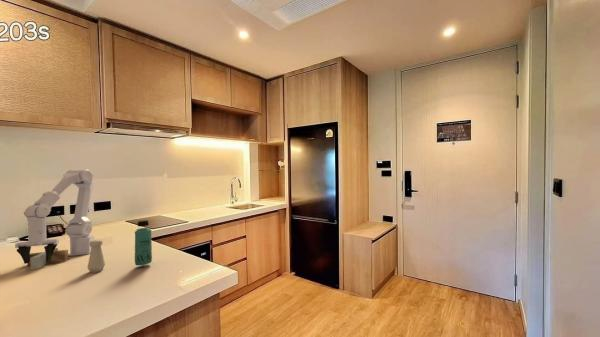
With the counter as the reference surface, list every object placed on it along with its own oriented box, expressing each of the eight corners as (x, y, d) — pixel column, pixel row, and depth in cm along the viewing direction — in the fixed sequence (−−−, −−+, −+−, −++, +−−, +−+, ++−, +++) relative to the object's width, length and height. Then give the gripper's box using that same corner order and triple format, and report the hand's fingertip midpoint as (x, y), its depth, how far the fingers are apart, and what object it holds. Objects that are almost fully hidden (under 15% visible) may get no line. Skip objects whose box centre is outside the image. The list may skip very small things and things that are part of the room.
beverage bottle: (131, 267, 110) (130, 221, 110) (146, 262, 116) (146, 218, 116) (140, 270, 107) (139, 222, 107) (155, 264, 113) (154, 219, 113)
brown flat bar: (68, 259, 123) (68, 249, 123) (65, 261, 121) (65, 251, 121) (31, 264, 119) (31, 253, 119) (27, 265, 116) (27, 254, 116)
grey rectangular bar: (51, 258, 126) (51, 248, 126) (58, 258, 127) (57, 248, 127) (30, 269, 112) (30, 258, 112) (37, 268, 112) (37, 257, 112)
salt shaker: (95, 274, 104) (94, 242, 104) (83, 273, 105) (83, 241, 105) (108, 268, 110) (108, 238, 110) (97, 268, 111) (97, 238, 111)
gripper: (9, 235, 108) (9, 267, 108) (52, 231, 113) (52, 262, 113) (21, 231, 115) (21, 261, 115) (61, 228, 120) (61, 257, 119)
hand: (37, 261), depth 114 cm, fingers open, 7 cm apart
